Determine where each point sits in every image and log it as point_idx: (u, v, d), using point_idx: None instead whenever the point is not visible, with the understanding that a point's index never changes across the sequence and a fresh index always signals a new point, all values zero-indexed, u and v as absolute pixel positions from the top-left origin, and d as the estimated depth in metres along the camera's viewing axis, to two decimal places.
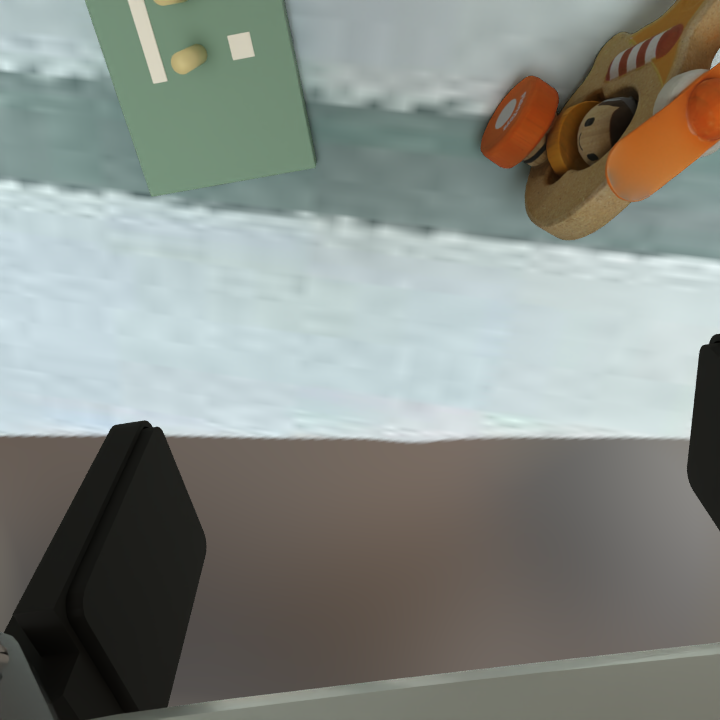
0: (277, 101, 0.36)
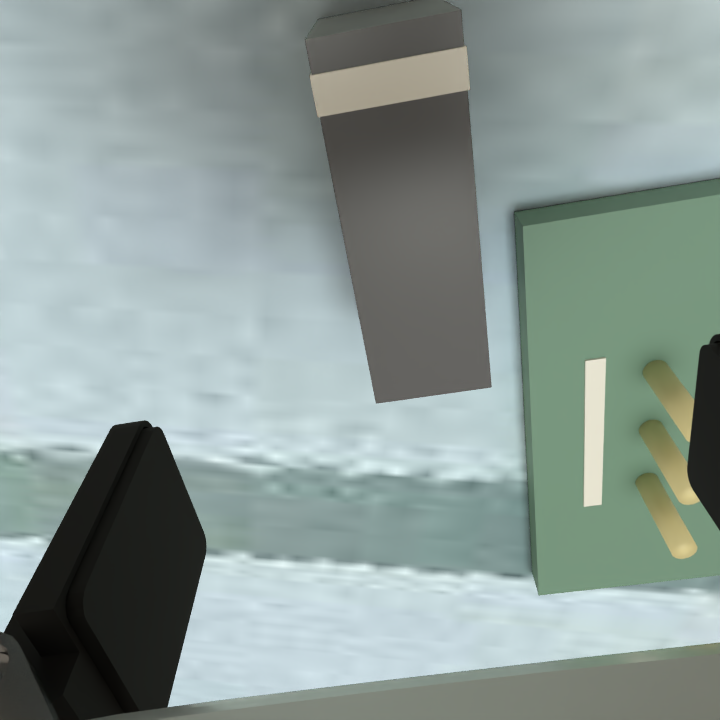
0: None
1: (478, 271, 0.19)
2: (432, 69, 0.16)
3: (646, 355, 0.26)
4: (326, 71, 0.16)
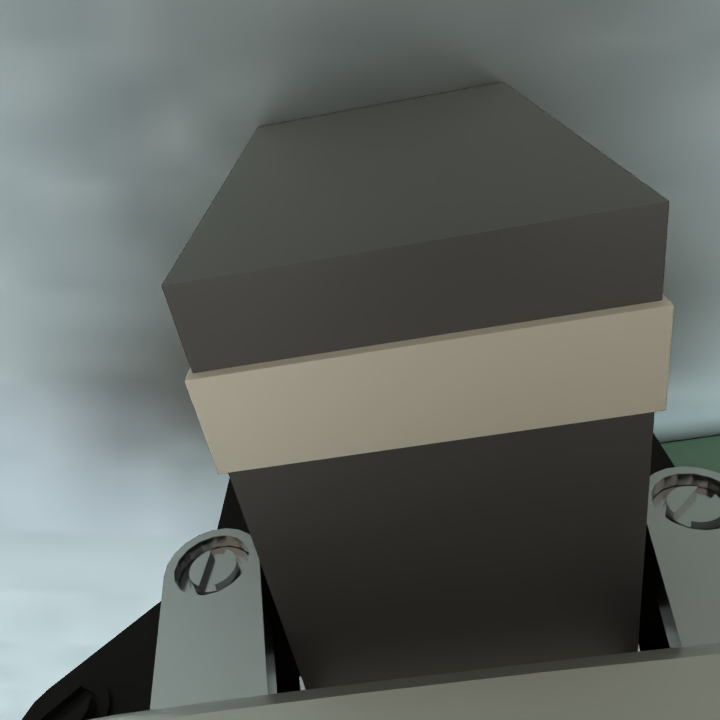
0: None
1: None
2: (559, 363, 0.05)
3: None
4: (237, 360, 0.05)
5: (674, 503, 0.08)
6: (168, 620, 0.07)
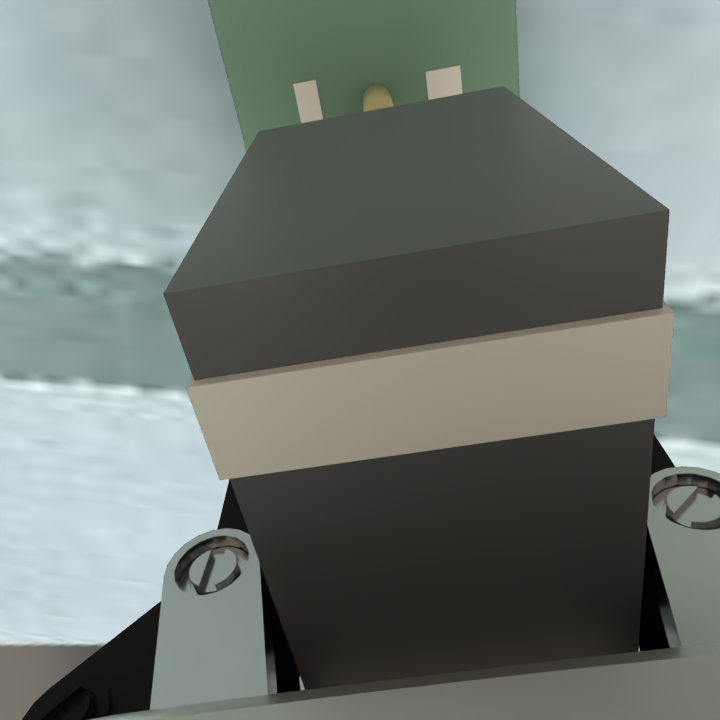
0: None
1: None
2: (560, 370, 0.05)
3: (362, 77, 0.23)
4: (239, 365, 0.05)
5: (674, 503, 0.08)
6: (168, 620, 0.07)
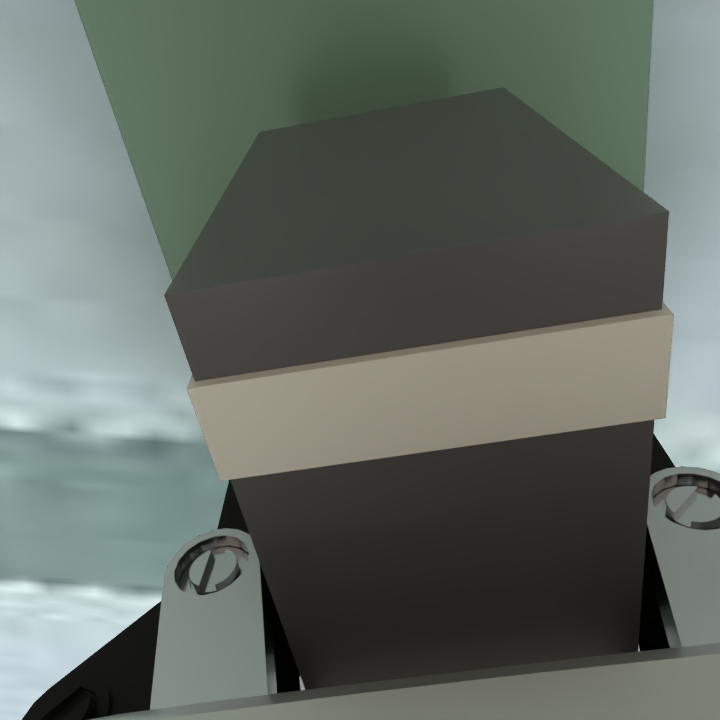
0: None
1: None
2: (560, 371, 0.05)
3: None
4: (240, 368, 0.06)
5: (674, 503, 0.08)
6: (168, 620, 0.07)
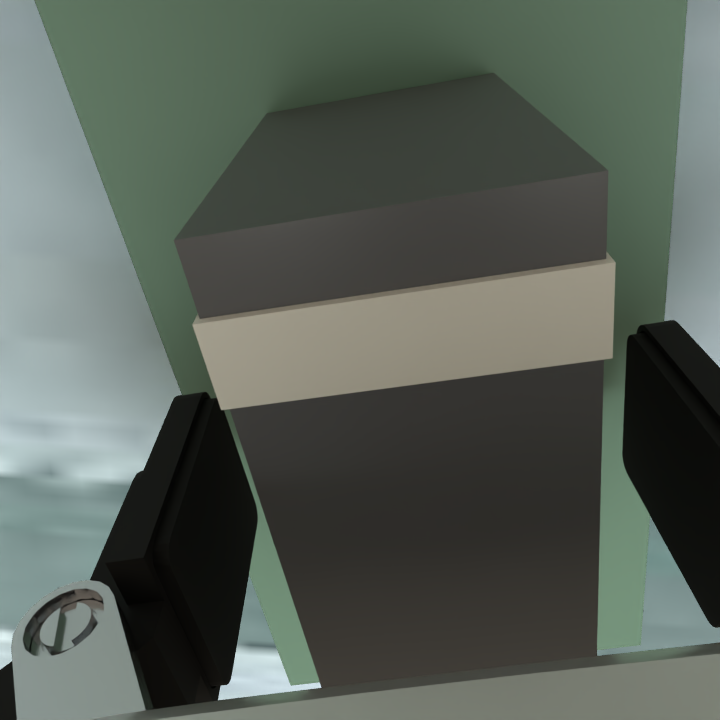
0: None
1: None
2: (517, 313, 0.06)
3: None
4: (239, 308, 0.06)
5: None
6: (25, 689, 0.07)
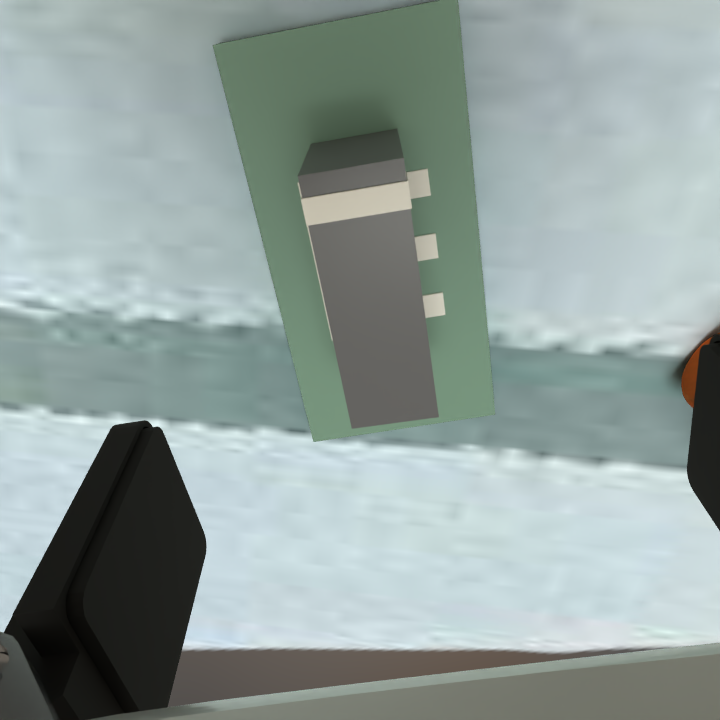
0: (463, 354, 0.34)
1: (424, 331, 0.26)
2: (385, 195, 0.23)
3: None
4: (312, 195, 0.24)
5: None
6: None
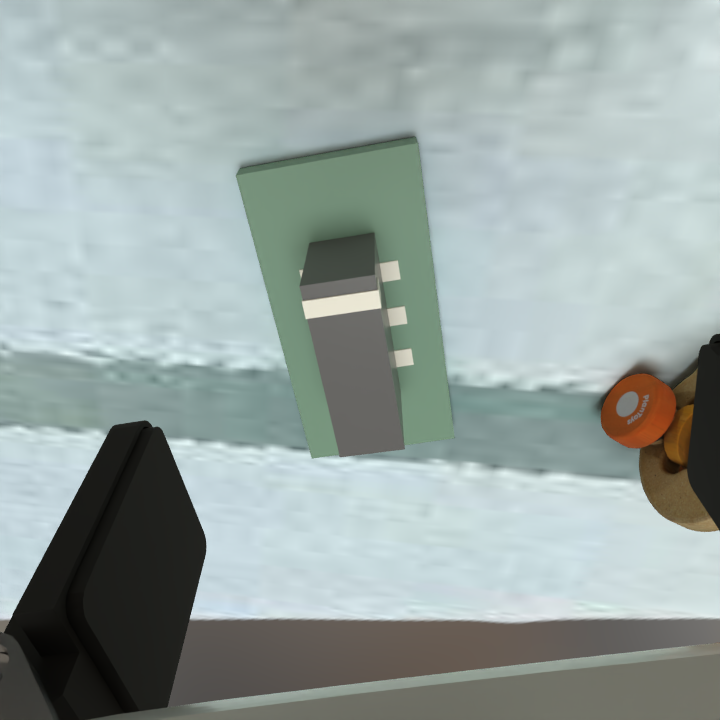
0: (428, 393, 0.43)
1: (392, 389, 0.36)
2: (362, 299, 0.33)
3: None
4: (310, 298, 0.33)
5: None
6: None
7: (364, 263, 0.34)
